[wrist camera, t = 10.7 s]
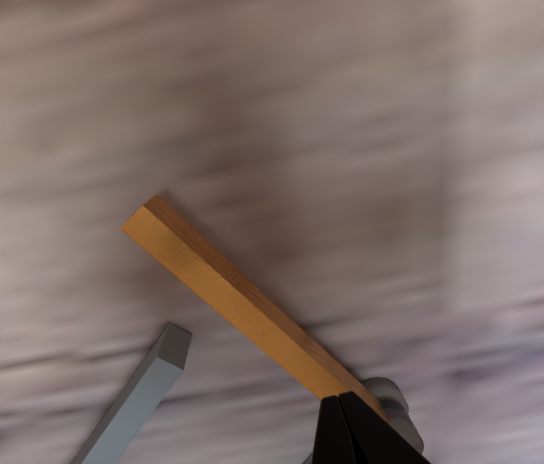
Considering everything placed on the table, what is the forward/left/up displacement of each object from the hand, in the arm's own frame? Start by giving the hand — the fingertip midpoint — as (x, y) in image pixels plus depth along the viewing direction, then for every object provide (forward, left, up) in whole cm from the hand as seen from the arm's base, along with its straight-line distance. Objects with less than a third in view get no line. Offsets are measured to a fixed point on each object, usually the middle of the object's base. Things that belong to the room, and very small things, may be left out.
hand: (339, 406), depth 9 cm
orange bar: (-3, +3, -9) cm, 10 cm away
